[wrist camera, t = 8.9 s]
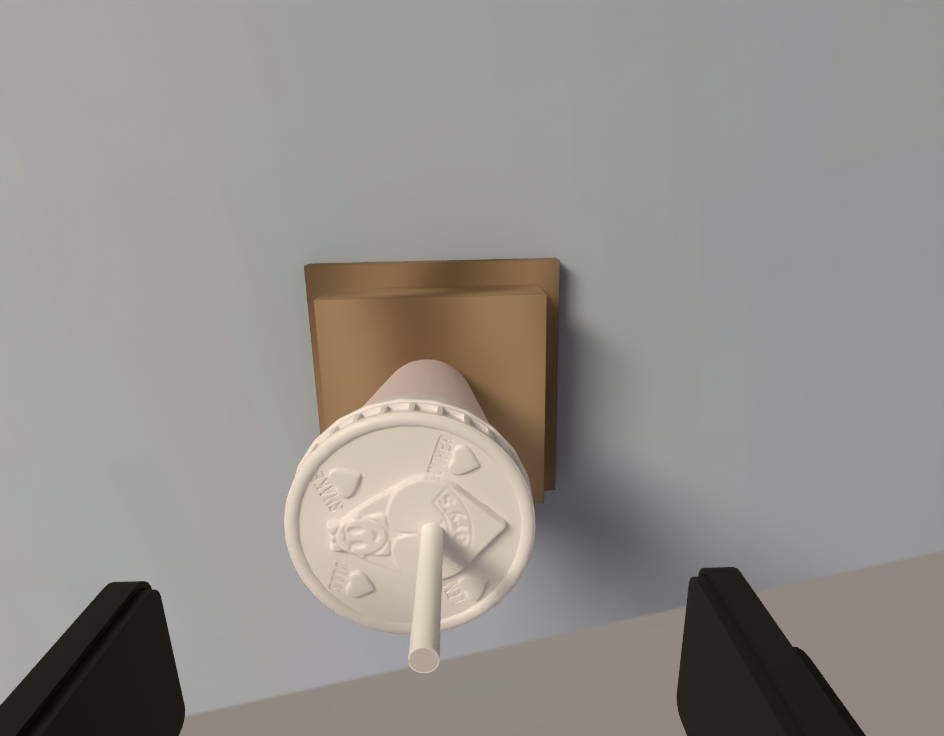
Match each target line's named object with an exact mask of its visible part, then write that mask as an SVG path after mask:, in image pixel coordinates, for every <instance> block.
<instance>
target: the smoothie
mask: <svg viewBox="0 0 944 736" xmlns="http://www.w3.org/2000/svg"><path fill="white" fill-rule="evenodd" d="M284 529H285V538H286V543H287V547H288V551H289V554H290V557H291V559H292V562H293V564H294V566H295V568H296V570H297V572H298V573H299V575H300V577H301V578H302V580H303V581H304V583H305V584H306V585H307V587H308V588H309V589H310V590H311V591H312V592H313V594H314V595H315V596H316V597H317V598H318V599H319V600H321V601H322V602H323V603H324V604H325V605H326V606H328V607H329V608H330V609H332V610H333V611H334V612H336V613H338V614H339V615H341V616H343V617H344V618H346V619H348V620H350V621H352V622H354V623H357V624H359V625H362V626H364V627H367V628H371V629H374V630H378V631H383V632H387V633H395V634H410V635H411V638H410V648H409V658H408V662H409V665H410V667H411V668H412V669H413V670H415V671H416V672H419V673H428V672H431V671H433V670H434V669H436V667H437V666H438V664H439V654H440V631H445V630H448V629H452V628H455V627H458V626H460V625H463V624H466V623H468V622H470V621H472V620H474V619H476V618H478V617H479V616H481V615H483V614H484V613H486V612H487V611H489V610H490V609H491V608H493V607H494V606H495V605H497V604H498V603H499V602H500V601H501V600H502V599H503V598H504V597H505V596H506V595H507V594H508V593H509V592H510V591H511V590H512V588H513V587H514V586H515V584H516V583H517V582H518V580H519V578H520V577H521V575H522V573H523V572H524V570H525V567H526V565H527V563H528V561H529V558H530V555H531V552H532V548H533V543H534V537H535V512H534V503H533V498H532V493H531V487H530V482H529V477H528V474H527V472H526V470H525V469H524V467H523V465H522V463H521V461H520V459H519V457H518V455H517V453H516V451H515V449H514V448H513V447H512V446H511V445H510V444H509V443H508V442H507V441H506V440H505V439H504V438H503V436H502V435H501V434H500V433H499V432H498V431H497V430H496V429H495V428H494V427H493V426H491V425H490V424H489V422H488V421H487V419H486V417H485V415H484V413H483V411H482V409H481V407H480V405H479V403H478V401H477V400H476V398H475V396H474V394H473V392H472V390H471V388H470V386H469V384H468V382H467V381H466V379H465V378H464V377H463V375H462V374H461V373H460V372H459V371H458V370H456V369H455V368H454V367H452V366H450V365H448V364H446V363H444V362H441V361H437V360H429V359H424V360H417V361H413V362H410V363H408V364H406V365H404V366H402V367H401V368H399V369H398V370H397V371H396V372H395V373H394V374H393V375H392V376H391V377H390V378H389V379H388V380H387V381H386V382H385V383H384V384H383V385H382V386H381V387H380V389H379V390H378V391H377V392H376V393H375V394H374V395H373V396H372V397H371V398H370V399H369V400H368V401H367V403H366V404H365V405H364V406H363V407H362V408H360V409H358V410H356V411H354V412H352V413H350V414H348V415H345V416H343V417H341V418H339V419H338V420H337V421H335V422H334V423H333V424H332V425H331V426H330V427H329V428H328V429H326V430H325V431H324V432H323V433H322V434H321V435H320V436H318V437H317V438H316V439H315V440H314V442H313V443H312V445H311V446H310V448H309V449H308V451H307V453H306V454H305V456H304V457H303V459H302V460H301V462H300V464H299V465H298V468H297V472H296V475H295V478H294V480H293V482H292V485H291V487H290V490H289V493H288V497H287V501H286V506H285V515H284Z"/></svg>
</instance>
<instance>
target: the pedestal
mask: <svg viewBox="0 0 944 736" xmlns="http://www.w3.org/2000/svg"><path fill="white" fill-rule="evenodd" d="M559 269H560V260H558V259H557V258H533V259H491V260H448V261H405V262H363V263H320V264H308V265H306V266H304V271H305V281H306V291H307V302H308V312H309V322H310V332H311V342H312V353H313V363H314V373H315V383H316V393H317V404H318V414H319V424H320V434H322V433H323V432H324V431H325V430H326V429H328V428H329V427H330V426H331V425H332V424H333V423H334V422H335V421H337V420H338V419H339V418H341V417H343V416H345V415H348V414H350V413H352V412H354V411H356V410H358V409H360V408H362V407H363V406H364V405H365V404H366V403H367V401H368V400H369V399H370V398H371V397H372V396H373V395H374V394H375V393H376V392H377V391H378V390H379V389H380V387H381V386H382V385H383V384H384V383H385V382H386V381H387V380H388V379H389V378H390V377H391V376H392V375H393V374H394V373H395V372H396V371H397V370H398V369H399V368H401V367H402V366H404V365H406V364H408V363H410V362H413V361H417V360H424V359H429V360H437V361H441V362H444V363H446V364H448V365H450V366H452V367H454V368H455V369H456V370H458V371H459V372H460V373H461V374H462V375H463V377H464V378H465V379H466V381H467V382H468V384H469V386H470V388H471V390H472V392H473V394H474V396H475V398H476V400H477V401H478V403H479V405H480V407H481V409H482V411H483V413H484V415H485V417H486V419H487V421H488V422H489V424H490V425H491V426H493V427H494V428H495V429H496V430H497V431H498V432H499V433H500V434H501V435H502V436H503V438H504V439H505V440H506V441H507V442H508V443H509V444H510V445H511V446H512V447H513V448H514V449H515V451H516V453H517V455H518V457H519V459H520V461H521V463H522V465H523V467H524V469H525V470H526V472H527V474H528V477H529V482H530V487H531V493H532V498H533V503H544V490H555V465H556V416H557V367H558V318H559Z"/></svg>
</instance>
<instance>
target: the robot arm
mask: <svg viewBox="0 0 944 736" xmlns="http://www.w3.org/2000/svg"><path fill="white" fill-rule="evenodd" d="M677 706H678V711H679V715H680V718H681V721H682V723H683V726H684V728H685V731H686V734H687V736H866V735H865V734H864V733H863V731H862V730H861V729H860V727H859V726H858V724H857V723H856V721H855V720H854V719H853V717H852V716H851V715H850V713H849V712H848V710H847V709H846V708H845V706H844V705H843V703H842V702H841V701H840V699H839V698H838V697H837V695H836V694H835V692H834V691H833V689H832V688H831V687H830V685H829V684H828V683H827V681H826V680H825V678H824V677H823V676H822V674H821V673H820V672H819V670H818V669H817V667H816V666H815V664H814V663H813V662H812V660H811V659H810V658H809V657H808V656H807V654H806V653H805V652H804V651H803V650H801V649H799V648H798V647H792V645H791V644H790V642H789V641H788V639H787V638H786V637H785V635H784V634H783V633H782V631H781V630H780V628H779V627H778V625H777V624H776V623H775V621H774V619H773V618H772V617H771V615H770V614H769V612H768V611H767V610H766V608H765V607H764V605H763V604H762V602H761V601H760V599H759V598H758V597H757V595H756V594H755V592H754V591H753V589H752V588H751V587H750V585H749V584H748V582H747V581H746V579H745V578H744V577H743V575H742V574H741V572H740V571H739V570H738V569H737V568H734V567H721V568H702V569H701V570H700V572H699V576H698V577H691V579H690V581H689V588H688V597H687V606H686V616H685V624H684V634H683V643H682V651H681V661H680V670H679V679H678V688H677ZM184 717H185V705H184V701H183V696H182V692H181V687H180V682H179V678H178V673H177V669H176V664H175V659H174V655H173V650H172V646H171V641H170V636H169V632H168V627H167V623H166V618H165V613H164V609H163V604H162V600H161V596H160V593H159V592H158V591H157V590H152V588H151V586H150V585H149V583H148V582H145V581H136V582H112V583H109V584H108V585H107V586H106V587H104V588H103V590H102V591H101V592H100V593H99V594H98V595H97V596H96V598H95V599H94V600H93V601H92V602H91V603H90V604H89V606H88V607H87V608H86V609H85V610H84V611H83V612H82V613H81V615H80V616H79V617H78V618H77V619H76V620H75V621H74V623H73V624H72V625H71V626H70V627H69V628H68V629H67V630H66V632H65V633H64V634H63V635H62V636H61V637H60V638H59V640H58V641H57V642H56V643H55V644H54V645H53V646H52V647H51V649H50V650H49V651H48V652H47V653H46V654H45V655H44V657H43V658H42V659H41V660H40V661H39V662H38V663H37V665H36V666H35V667H34V668H33V669H32V670H31V671H30V672H29V674H28V675H27V676H26V677H25V678H24V679H23V680H22V682H21V683H20V684H19V685H18V686H17V687H16V688H15V689H14V691H13V692H12V693H11V694H10V695H9V696H8V697H7V699H6V700H5V701H4V702H3V703H2V704H1V705H0V736H179V733H180V731H181V729H182V726H183V723H184Z"/></svg>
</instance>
